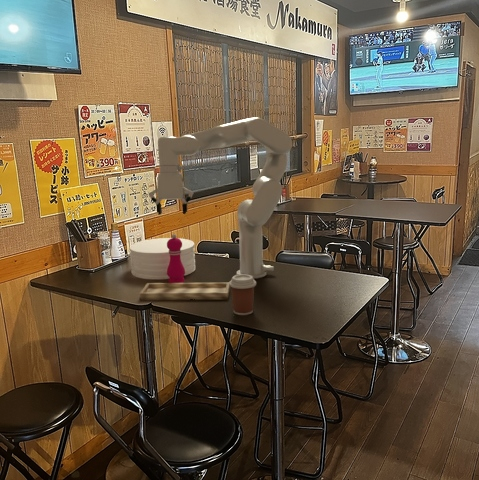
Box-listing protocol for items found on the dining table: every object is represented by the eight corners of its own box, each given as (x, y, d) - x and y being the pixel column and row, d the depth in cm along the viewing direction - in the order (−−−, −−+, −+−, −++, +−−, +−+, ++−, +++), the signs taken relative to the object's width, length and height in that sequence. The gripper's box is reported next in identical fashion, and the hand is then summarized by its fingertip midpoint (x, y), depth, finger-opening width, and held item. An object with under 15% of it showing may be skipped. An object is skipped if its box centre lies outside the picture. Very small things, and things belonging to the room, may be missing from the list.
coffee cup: (262, 310, 161) (261, 276, 158) (245, 318, 154) (244, 283, 152) (241, 304, 167) (240, 271, 164) (224, 312, 160) (222, 278, 157)
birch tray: (229, 288, 184) (229, 282, 184) (227, 299, 173) (227, 292, 172) (147, 289, 186) (147, 283, 185) (139, 300, 174) (139, 293, 174)
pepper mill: (188, 280, 195) (186, 232, 191) (180, 286, 189) (178, 236, 184) (172, 279, 198) (169, 232, 193) (164, 284, 191) (161, 235, 187)
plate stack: (125, 266, 219) (123, 242, 216) (183, 258, 230) (182, 235, 228) (139, 283, 194) (137, 256, 191) (204, 273, 205) (203, 247, 203)
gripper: (193, 168, 186) (195, 211, 190) (149, 169, 187) (152, 212, 191) (190, 169, 179) (192, 215, 183) (144, 171, 180) (148, 216, 184)
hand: (172, 213), depth 187 cm, fingers open, 9 cm apart
